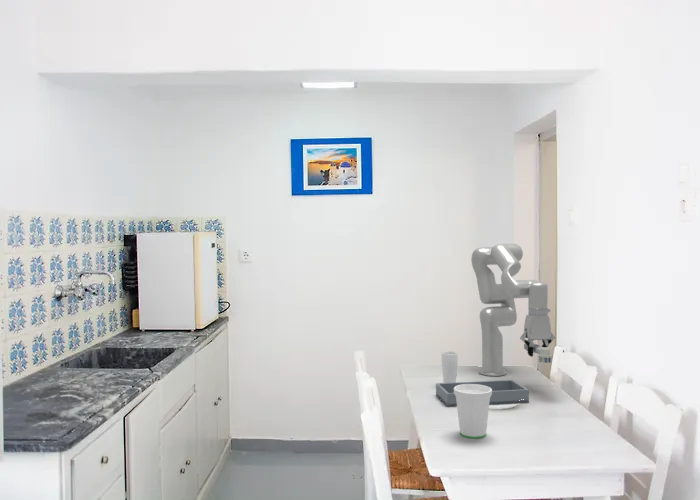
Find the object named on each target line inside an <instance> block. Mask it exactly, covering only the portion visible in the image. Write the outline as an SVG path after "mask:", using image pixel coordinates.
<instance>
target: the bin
mask: <svg viewBox="0 0 700 500" xmlns="http://www.w3.org/2000/svg"><path fill="white" fill-rule="evenodd" d="M462 384H479V385H484V386H487V387H490V388H491V389H492V395H491V397H490V401H489V406H490V405H491V406H492V405H507V404H511V405H512V404H526V403H527V404H529V402H530V390H529V389H528V388H527V387H525V386H523V385H522V384H520V383H518V382H516V381H515V380H513V379H502V380H483V381H481V380H480V381H479V380H478V381H477V380H476V381H460V382H457V381H456V383H444V382H441V383H439V382H437V383H435V396H436V397H437V398H438V399H439V400H440V401H441V402H442V403H443V404H444V405H445V406H446V407H451V408H452V407H457V402H456V396H455V394H454V387H455V386H458V385H462ZM521 399H524V400H521ZM519 400H520V401H519Z"/></svg>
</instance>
